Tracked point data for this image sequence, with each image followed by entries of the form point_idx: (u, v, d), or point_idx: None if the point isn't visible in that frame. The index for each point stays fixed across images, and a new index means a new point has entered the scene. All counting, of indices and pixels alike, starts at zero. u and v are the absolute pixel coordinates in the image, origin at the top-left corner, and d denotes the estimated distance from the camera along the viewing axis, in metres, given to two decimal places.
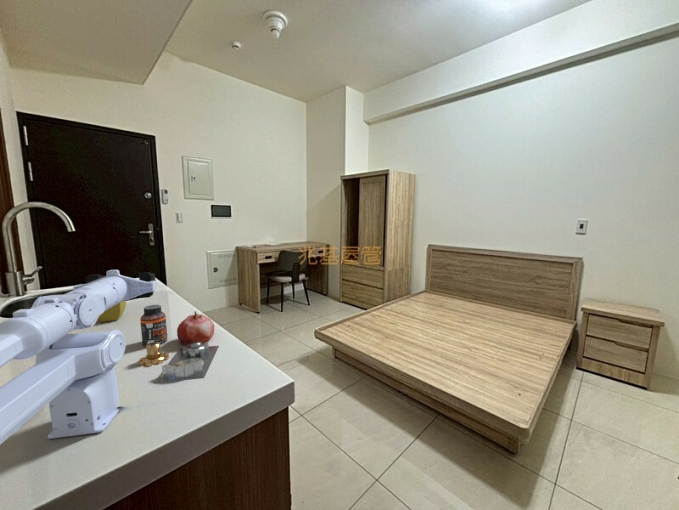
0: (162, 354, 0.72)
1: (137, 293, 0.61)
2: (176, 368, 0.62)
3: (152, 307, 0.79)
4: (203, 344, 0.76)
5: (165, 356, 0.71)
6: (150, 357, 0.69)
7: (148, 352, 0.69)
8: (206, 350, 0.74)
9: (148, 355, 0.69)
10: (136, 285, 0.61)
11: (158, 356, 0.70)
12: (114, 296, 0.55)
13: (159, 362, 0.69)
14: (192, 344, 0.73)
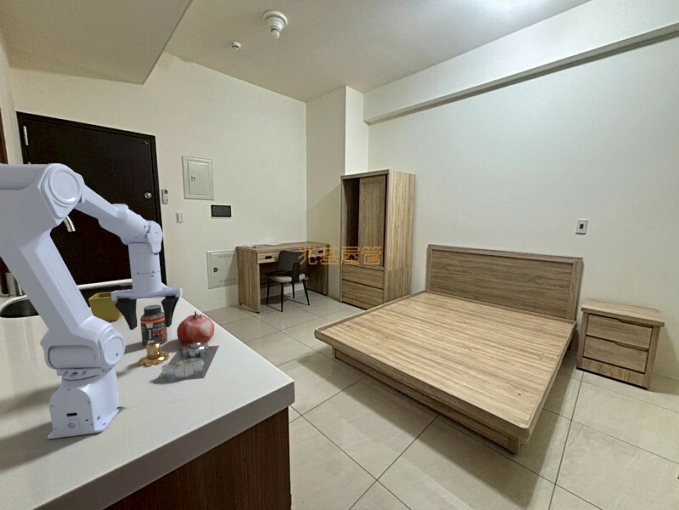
0: (162, 354, 0.72)
1: None
2: (176, 368, 0.62)
3: (152, 307, 0.79)
4: (203, 344, 0.76)
5: (165, 356, 0.71)
6: (150, 357, 0.69)
7: (148, 352, 0.69)
8: (206, 350, 0.74)
9: (148, 355, 0.69)
10: None
11: (158, 356, 0.70)
12: (157, 266, 0.68)
13: (159, 362, 0.69)
14: (192, 344, 0.73)
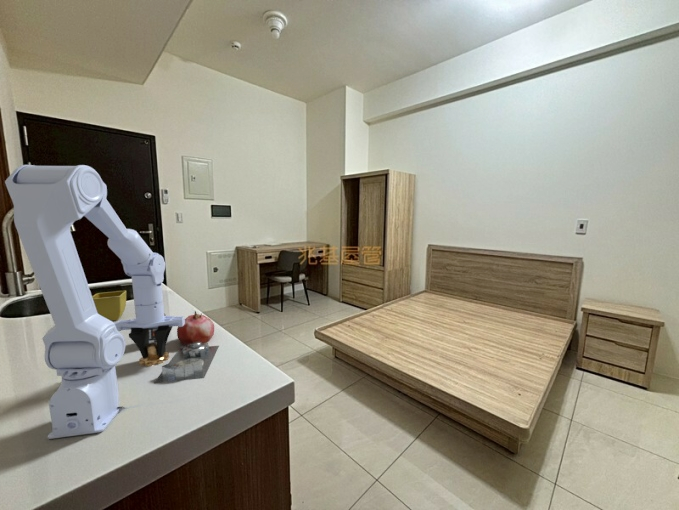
0: None
1: None
2: (176, 368, 0.62)
3: None
4: (203, 344, 0.76)
5: (165, 356, 0.71)
6: (150, 357, 0.69)
7: (148, 352, 0.69)
8: (206, 350, 0.74)
9: (148, 355, 0.69)
10: None
11: None
12: (160, 297, 0.69)
13: (159, 362, 0.69)
14: (192, 344, 0.73)
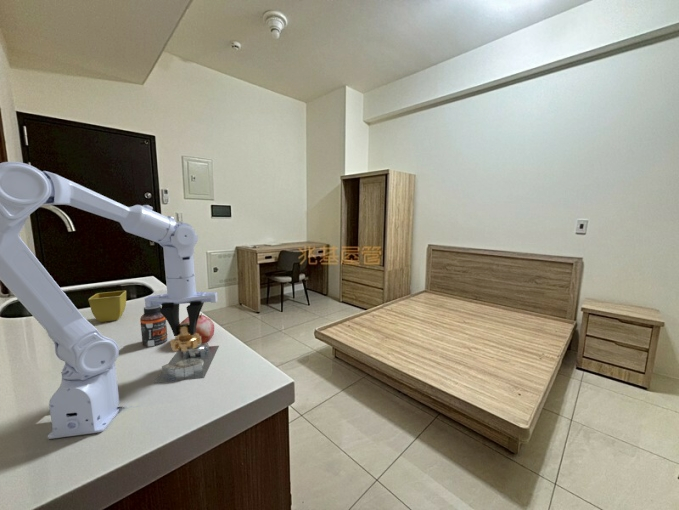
0: (193, 335, 0.69)
1: None
2: (176, 368, 0.62)
3: (152, 307, 0.79)
4: (203, 344, 0.76)
5: (197, 337, 0.68)
6: (183, 338, 0.66)
7: (181, 333, 0.65)
8: (206, 350, 0.74)
9: (181, 336, 0.65)
10: (201, 295, 0.67)
11: (191, 337, 0.67)
12: (187, 272, 0.63)
13: (194, 342, 0.65)
14: None
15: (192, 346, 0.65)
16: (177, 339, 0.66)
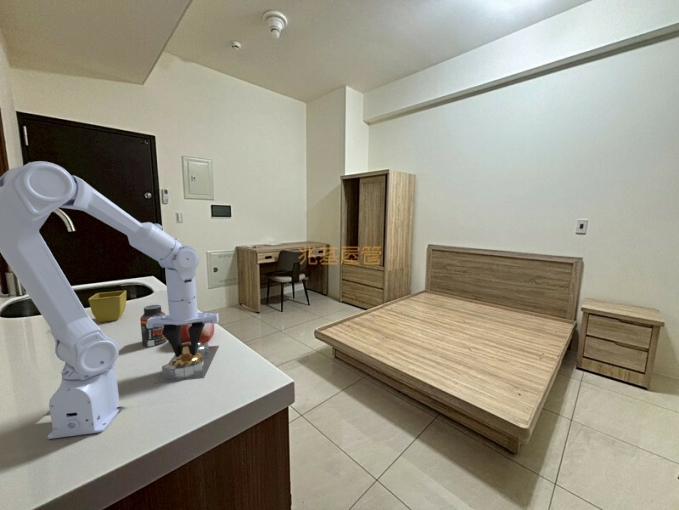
0: None
1: None
2: (176, 368, 0.62)
3: (152, 307, 0.79)
4: (203, 344, 0.76)
5: (199, 356, 0.68)
6: (185, 358, 0.66)
7: (183, 353, 0.66)
8: (206, 350, 0.74)
9: (182, 356, 0.66)
10: None
11: (192, 356, 0.67)
12: (189, 294, 0.64)
13: None
14: None
15: None
16: (179, 359, 0.67)
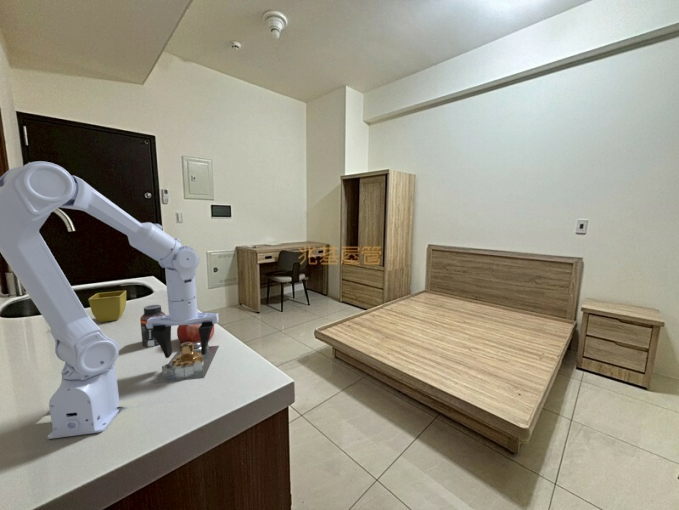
0: (194, 354, 0.69)
1: None
2: (176, 368, 0.62)
3: (152, 307, 0.79)
4: None
5: (199, 356, 0.68)
6: (185, 358, 0.66)
7: (183, 353, 0.66)
8: None
9: (182, 356, 0.66)
10: (203, 316, 0.67)
11: (192, 356, 0.67)
12: (189, 294, 0.64)
13: None
14: None
15: None
16: (179, 359, 0.67)
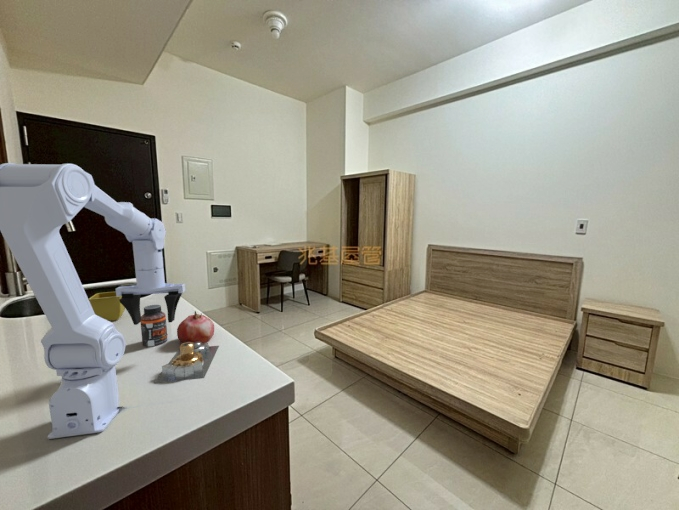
0: (194, 354, 0.69)
1: None
2: (176, 368, 0.62)
3: (152, 307, 0.79)
4: (203, 344, 0.76)
5: (199, 356, 0.68)
6: (185, 358, 0.66)
7: (183, 353, 0.66)
8: (206, 350, 0.74)
9: (182, 356, 0.66)
10: None
11: (192, 356, 0.67)
12: (161, 263, 0.70)
13: None
14: None
15: None
16: (179, 359, 0.67)
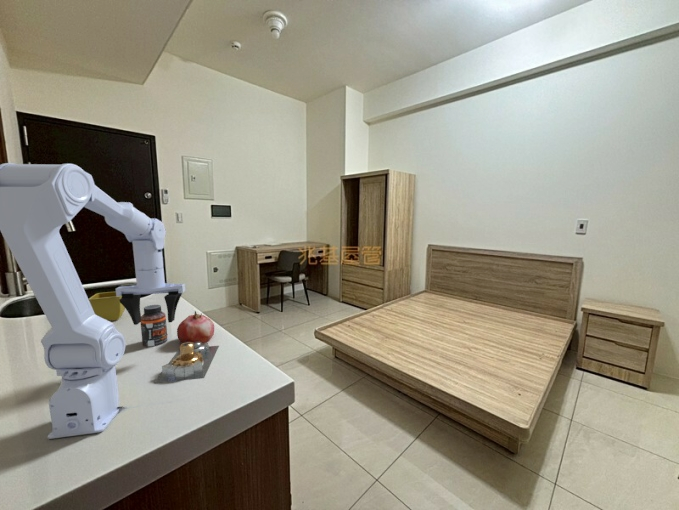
0: (194, 354, 0.69)
1: None
2: (176, 368, 0.62)
3: (152, 307, 0.79)
4: (203, 344, 0.76)
5: (199, 356, 0.68)
6: (185, 358, 0.66)
7: (183, 353, 0.66)
8: (206, 350, 0.74)
9: (182, 356, 0.66)
10: None
11: (192, 356, 0.67)
12: (161, 263, 0.70)
13: None
14: None
15: None
16: (179, 359, 0.67)
